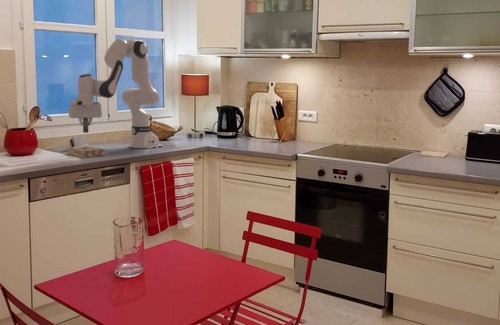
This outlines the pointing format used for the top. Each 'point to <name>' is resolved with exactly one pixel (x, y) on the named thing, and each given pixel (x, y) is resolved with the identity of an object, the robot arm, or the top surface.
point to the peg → (85, 125)
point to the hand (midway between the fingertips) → (85, 125)
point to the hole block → (86, 151)
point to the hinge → (78, 141)
